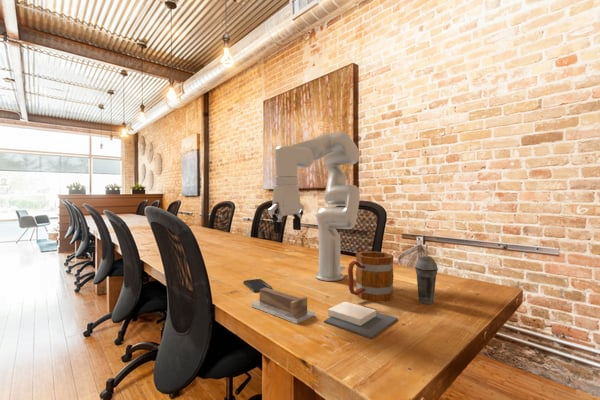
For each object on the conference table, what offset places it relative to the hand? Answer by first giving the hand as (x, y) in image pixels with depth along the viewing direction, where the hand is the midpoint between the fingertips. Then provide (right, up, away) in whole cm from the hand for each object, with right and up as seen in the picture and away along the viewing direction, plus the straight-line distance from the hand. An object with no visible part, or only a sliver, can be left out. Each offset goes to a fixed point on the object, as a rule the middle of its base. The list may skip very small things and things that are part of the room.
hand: (287, 231), depth 104 cm
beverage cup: (+48, -24, -1) cm, 53 cm away
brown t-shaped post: (-2, -23, -9) cm, 25 cm away
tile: (+16, -23, -12) cm, 30 cm away
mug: (+29, -24, +3) cm, 38 cm away
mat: (+22, -24, -17) cm, 37 cm away
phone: (-13, -24, +16) cm, 32 cm away
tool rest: (-1, -24, -10) cm, 26 cm away
